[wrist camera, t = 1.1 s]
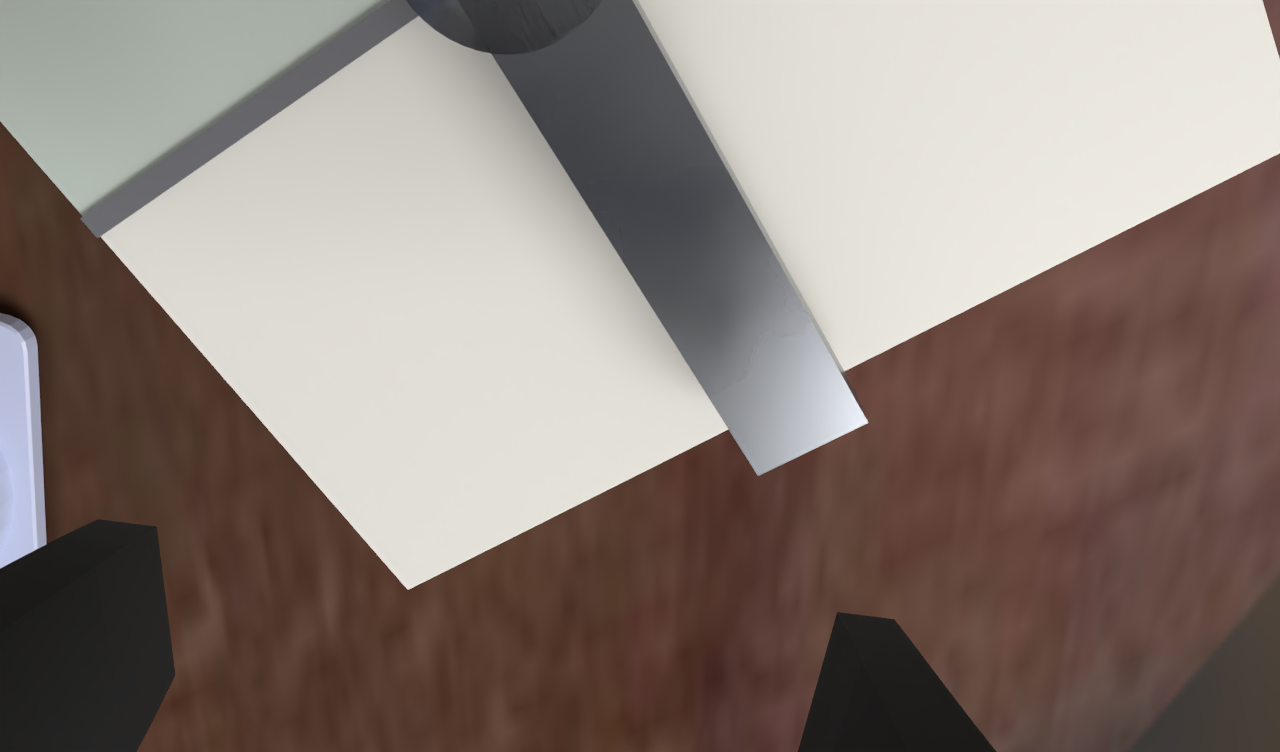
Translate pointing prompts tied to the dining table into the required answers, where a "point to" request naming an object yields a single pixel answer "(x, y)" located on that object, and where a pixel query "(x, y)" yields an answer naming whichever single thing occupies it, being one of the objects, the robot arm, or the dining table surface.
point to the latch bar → (668, 211)
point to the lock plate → (564, 225)
